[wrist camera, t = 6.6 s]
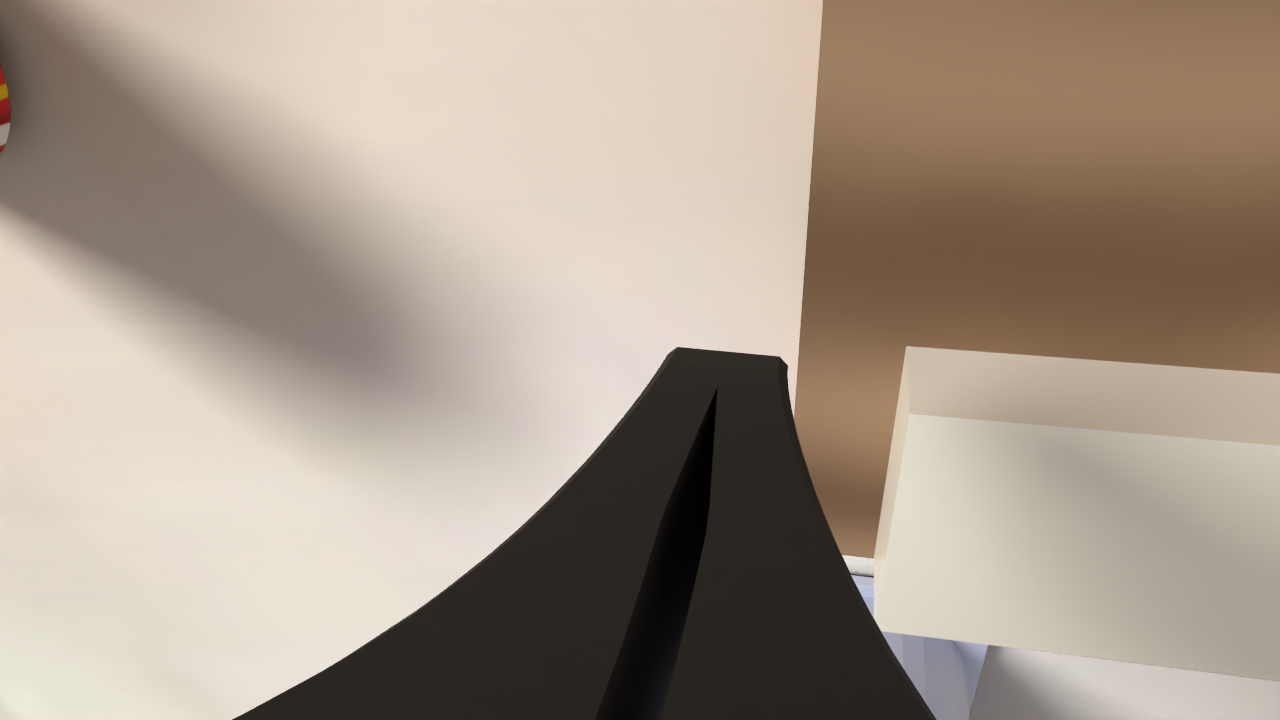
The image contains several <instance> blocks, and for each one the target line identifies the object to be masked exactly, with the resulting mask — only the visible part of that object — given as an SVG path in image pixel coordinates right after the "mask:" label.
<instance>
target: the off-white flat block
mask: <svg viewBox="0 0 1280 720" xmlns="http://www.w3.org/2000/svg"><path fill="white" fill-rule="evenodd" d="M874 620H875V621H876V623H877V625H878V627H879V628H880V630H881V631H883V632H891V633H899V634H907V635H915V636H923V637H931V638H939V639H947V640H955V641H963V642H970V643H978V644H986V645H994V646H1002V647H1010V648H1018V649H1026V650H1034V651H1042V652H1050V653H1058V654H1066V655H1074V656H1082V657H1090V658H1098V659H1106V660H1114V661H1121V662H1129V663H1137V664H1145V665H1153V666H1161V667H1169V668H1177V669H1185V670H1193V671H1201V672H1209V673H1217V674H1225V675H1233V676H1241V677H1249V678H1257V679H1265V680H1272V681H1280V374H1276V373H1263V372H1249V371H1236V370H1222V369H1209V368H1195V367H1182V366H1168V365H1155V364H1141V363H1128V362H1114V361H1101V360H1087V359H1074V358H1060V357H1047V356H1033V355H1020V354H1006V353H993V352H979V351H966V350H952V349H939V348H925V347H912V346H906V351H905V358H904V364H903V371H902V377H901V384H900V391H899V397H898V404H897V410H896V417H895V423H894V430H893V436H892V443H891V449H890V456H889V462H888V469H887V475H886V482H885V488H884V495H883V501H882V508H881V514H880V521H879V528H878V534H877V541H876V547H875V554H874Z"/></svg>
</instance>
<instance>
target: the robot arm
mask: <svg viewBox="0 0 1280 720" xmlns="http://www.w3.org/2000/svg"><path fill="white" fill-rule="evenodd" d="M787 370H788V365H787V364H786V363H785V362H784V361H783V360H782V359H781V358H780V357H777V356H767V355H756V354H745V353H735V352H724V351H713V350H703V349H692V348H681V347H677V348H676V349H674V350H673V351H671V352H670V353H669V354H668V355H667V357H666V358H665V360H664V361H663V363H662V365H661V366H660V368H659V369H658V371H657V372H656V374H655V375H654V377H653V378H652V379H651V381H650V382H649V384H648V385H647V387H646V388H645V389H644V391H643V392H642V393H641V395H640V396H639V397H638V399H637V400H636V401H635V403H634V404H633V405H632V407H631V408H630V409H629V410H628V412H627V413H626V414H625V416H624V417H623V418H622V419H621V420H620V422H619V423H618V424H617V425H616V426H615V428H614V429H613V430H612V431H611V432H610V434H609V435H608V436H607V437H606V438H605V440H604V441H603V442H602V443H601V444H600V446H599V447H598V448H597V449H596V450H595V452H594V453H593V454H592V455H591V456H590V457H589V458H588V459H587V461H586V462H585V463H584V464H583V465H582V466H581V467H580V468H579V469H578V470H577V471H576V472H575V473H574V474H573V475H572V476H571V477H570V479H569V480H568V481H567V482H566V483H565V484H564V485H563V486H562V487H561V488H560V489H559V490H558V491H557V492H556V493H555V494H554V495H553V496H552V497H551V499H550V500H549V501H548V502H547V503H546V504H545V505H543V506H542V507H541V508H540V509H539V510H538V511H537V512H536V513H535V514H534V515H533V516H532V517H531V518H530V519H529V520H528V521H527V522H526V523H525V524H523V525H522V526H521V527H520V528H519V529H518V530H517V531H516V532H515V533H514V534H512V535H511V536H510V537H509V538H508V539H507V540H506V541H504V542H503V543H502V544H501V545H500V546H499V547H498V548H496V549H495V550H494V551H493V552H492V553H491V554H489V555H488V556H487V557H486V558H485V559H483V560H482V561H481V562H480V563H478V564H477V565H476V566H474V567H473V568H472V569H471V570H469V571H468V572H467V573H466V574H464V575H463V576H462V577H461V578H459V579H458V580H457V581H455V582H454V583H453V584H452V585H450V586H449V587H448V588H447V589H445V590H444V591H443V592H441V593H440V594H439V595H437V596H436V597H435V598H433V599H432V600H430V601H429V602H428V603H426V604H425V605H424V606H422V607H421V608H419V609H418V610H417V611H415V612H414V613H412V614H411V615H409V616H408V617H406V618H405V619H403V620H402V621H400V622H399V623H397V624H395V625H394V626H392V627H391V628H389V629H388V630H386V631H385V632H383V633H382V634H380V635H379V636H377V637H376V638H374V639H373V640H371V641H370V642H368V643H366V644H365V645H363V646H362V647H360V648H359V649H357V650H356V651H354V652H353V653H351V654H350V655H348V656H347V657H345V658H343V659H342V660H340V661H338V662H337V663H335V664H333V665H332V666H330V667H329V668H327V669H325V670H324V671H322V672H320V673H318V674H316V675H315V676H313V677H311V678H309V679H307V680H305V681H304V682H302V683H300V684H298V685H296V686H294V687H292V688H291V689H289V690H287V691H285V692H283V693H281V694H280V695H278V696H276V697H274V698H272V699H270V700H269V701H267V702H265V703H263V704H261V705H259V706H257V707H256V708H254V709H252V710H250V711H248V712H246V713H244V714H242V715H241V716H239V717H237V718H235V719H233V720H970V718H969V713H970V710H971V706H972V703H973V699H974V696H975V692H976V689H977V685H978V682H979V678H980V675H981V671H982V668H983V664H984V661H985V657H986V654H987V650H988V647H989V645H986V644H978V643H970V642H963V641H955V640H947V639H939V638H931V637H923V636H915V635H907V634H899V633H891V632H883V631H881V630H880V628H879V627H878V625H877V623H876V621H875V620H874V578H872V577H863V576H854V575H851V574H850V572H849V570H848V567H847V565H846V563H845V561H844V559H843V557H842V555H841V552H840V550H839V548H838V546H837V544H836V541H835V539H834V537H833V534H832V532H831V529H830V527H829V525H828V522H827V520H826V517H825V515H824V513H823V510H822V507H821V505H820V502H819V499H818V497H817V494H816V492H815V489H814V486H813V483H812V480H811V477H810V474H809V471H808V468H807V465H806V462H805V459H804V455H803V452H802V449H801V446H800V442H799V439H798V435H797V431H796V427H795V422H794V418H793V414H792V409H791V403H790V398H789V390H788V378H787Z"/></svg>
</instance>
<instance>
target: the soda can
mask: <svg viewBox="0 0 1280 720" xmlns="http://www.w3.org/2000/svg"><path fill="white" fill-rule="evenodd" d="M10 119H11V108H10V101H9V94H8V88H7V85H6V82H5V78H4V75H3V71H2V68H1V66H0V155H1V153H2V151H3V149H4V147H5V145H6V143H7V139H8V135H9V131H10Z"/></svg>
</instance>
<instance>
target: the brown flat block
mask: <svg viewBox="0 0 1280 720" xmlns="http://www.w3.org/2000/svg"><path fill="white" fill-rule="evenodd" d="M906 346H912V347H925V348H939V349H952V350H966V351H979V352H993V353H1006V354H1020V355H1033V356H1047V357H1060V358H1074V359H1087V360H1101V361H1114V362H1128V363H1141V364H1155V365H1168V366H1182V367H1195V368H1209V369H1222V370H1236V371H1249V372H1263V373H1276V374H1280V0H823V12H822V26H821V41H820V55H819V70H818V84H817V98H816V113H815V127H814V142H813V156H812V170H811V185H810V199H809V213H808V228H807V242H806V257H805V271H804V285H803V300H802V314H801V329H800V343H799V357H798V372H797V386H796V401H795V415H794V422H795V427H796V431H797V435H798V439H799V442H800V446H801V449H802V452H803V455H804V459H805V462H806V465H807V468H808V471H809V474H810V477H811V480H812V483H813V486H814V489H815V492H816V494H817V497H818V499H819V502H820V505H821V507H822V510H823V513H824V515H825V517H826V520H827V522H828V525H829V527H830V529H831V532H832V534H833V537H834V539H835V541H836V544H837V546H838V548H839V550H840V552H841V555H848V556H857V557H866V558H874V554H875V547H876V541H877V534H878V528H879V521H880V514H881V508H882V501H883V495H884V488H885V482H886V475H887V469H888V462H889V456H890V449H891V443H892V436H893V430H894V423H895V417H896V410H897V404H898V397H899V391H900V384H901V377H902V371H903V364H904V358H905V351H906Z"/></svg>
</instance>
